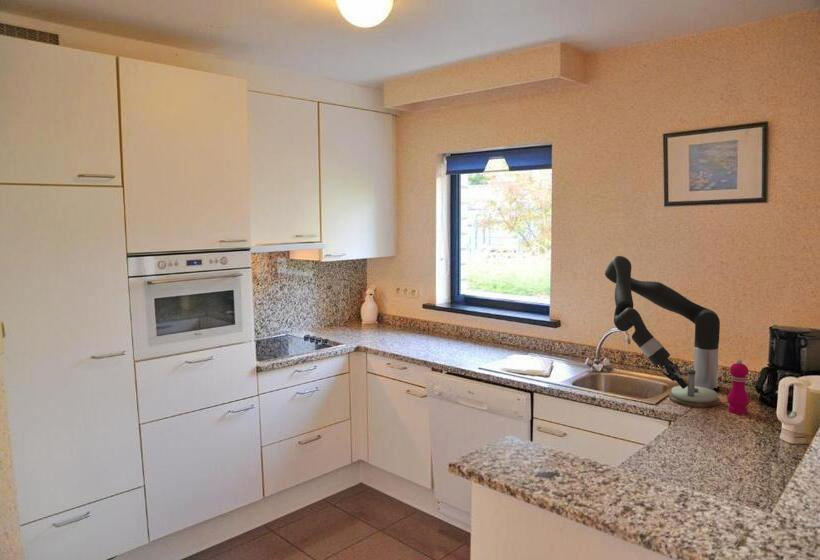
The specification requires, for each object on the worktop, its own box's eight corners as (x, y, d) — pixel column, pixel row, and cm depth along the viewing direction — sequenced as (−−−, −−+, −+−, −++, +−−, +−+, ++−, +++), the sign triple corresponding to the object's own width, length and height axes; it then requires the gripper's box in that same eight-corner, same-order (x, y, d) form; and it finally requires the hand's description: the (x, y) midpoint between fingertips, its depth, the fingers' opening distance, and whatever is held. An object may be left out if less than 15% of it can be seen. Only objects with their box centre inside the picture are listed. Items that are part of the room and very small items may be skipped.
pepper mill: (745, 409, 221) (747, 357, 219) (751, 415, 214) (753, 362, 212) (724, 408, 223) (726, 356, 221) (729, 414, 216) (731, 361, 214)
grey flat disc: (662, 393, 243) (663, 389, 242) (708, 394, 241) (708, 390, 241) (678, 407, 225) (678, 403, 225) (727, 408, 223) (727, 403, 223)
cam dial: (662, 392, 238) (663, 364, 237) (694, 388, 243) (695, 360, 242) (693, 404, 222) (694, 373, 221) (726, 399, 227) (728, 369, 226)
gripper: (652, 354, 240) (682, 388, 234) (642, 360, 230) (673, 396, 224) (666, 343, 236) (697, 378, 230) (657, 349, 226) (689, 385, 220)
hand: (685, 387), depth 227 cm, fingers closed
